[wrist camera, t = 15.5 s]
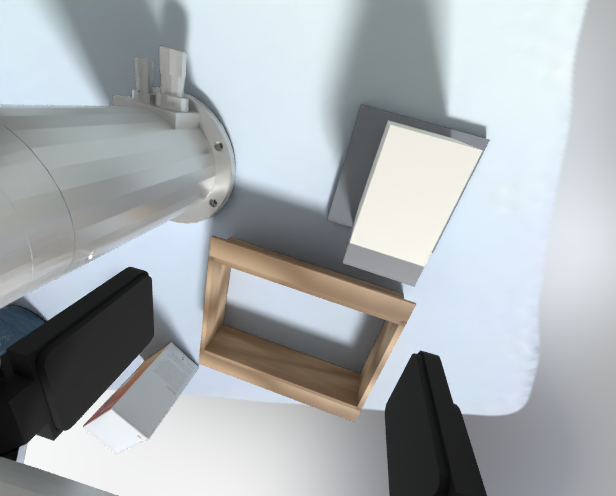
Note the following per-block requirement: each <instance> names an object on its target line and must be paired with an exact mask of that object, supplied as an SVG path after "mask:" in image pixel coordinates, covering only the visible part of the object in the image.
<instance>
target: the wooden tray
mask: <svg viewBox="0 0 616 496" xmlns="http://www.w3.org/2000/svg"><path fill="white" fill-rule="evenodd" d="M231 268H234V269H237V270H240V271H243V272H246V273H249V274H252V275H255V276H258V277H261V278H264V279H267V280H270V281H272V282H275V283H278V284H281V285H284V286H287V287H290V288H293V289H296V290H299V291H302V292H305V293H308V294H311V295H314V296H316V297H319V298H322V299H325V300H328V301H331V302H334V303H337V304H340V305H343V306H346V307H349V308H352V309H355V310H357V311H360V312H363V313H366V314H369V315H372V316H375V317H378V318H381V319H384V320H385V322H384V324H383V327H382V329H381V331H380V333H379V335H378V337H377V339H376V341H375V343H374V345H373V348H372V350H371V352H370V354H369V356H368V358H367V360H366V362H365V364H364V366H363V369H362V371H361V373H360V374H358V373H356V372H353V371H350V370H347V369H345V368H342V367H339V366H336V365H334V364H331V363H328V362H325V361H322V360H320V359H317V358H314V357H311V356H309V355H306V354H303V353H300V352H298V351H295V350H292V349H289V348H286V347H284V346H281V345H278V344H275V343H273V342H270V341H267V340H264V339H262V338H259V337H256V336H253V335H251V334H248V333H245V332H242V331H239V330H237V329H234V328H231V327H228V326H226V325H223V321H224V314H225V307H226V299H227V292H228V285H229V278H230V271H231ZM415 306H416V303H414V302H411V301H408V300H405V299H404V294H401V293H398V292H395V291H392V290H389V289H386V288H383V287H380V286H377V285H374V284H371V283H368V282H365V281H362V280H359V279H356V278H353V277H350V276H347V275H344V274H341V273H338V272H335V271H332V270H329V269H326V268H323V267H320V266H317V265H314V264H311V263H308V262H305V261H302V260H299V259H295V258H292V257H289V256H286V255H283V254H280V253H277V252H274V251H271V250H268V249H265V248H262V247H259V246H256V245H253V244H250V243H247V242H244V241H241V240H238V239H235V238H232V237H230V238H229V239H228V240H225V239H222V238H219V237H216V236H213V235H212V236H211V240H210V250H209V261H208V271H207V282H206V292H205V303H204V313H203V323H202V334H201V344H200V355H199V364H201V365H204V366H207V367H209V368H212V369H214V370H217V371H220V372H222V373H225V374H228V375H230V376H233V377H236V378H238V379H241V380H244V381H246V382H249V383H252V384H254V385H257V386H259V387H262V388H265V389H267V390H270V391H273V392H275V393H278V394H281V395H283V396H286V397H289V398H291V399H294V400H297V401H299V402H302V403H304V404H307V405H310V406H313V407H315V408H318V409H320V410H323V411H326V412H328V413H331V414H334V415H336V416H339V417H342V418H344V419H347V420H350V421H352V422H355V420H356V419H357V416H358V415H359V413H360V411H361V409H362V407H363V405H364V403H365V401H366V399H367V397H368V396H369V394H370V392H371V390H372V388H373V386H374V384H375V382H376V380H377V378H378V376H379V375H380V373H381V371H382V369H383V367H384V365H385V363H386V361H387V359H388V357H389V355H390V353H391V352H392V350H393V348H394V346H395V344H396V342H397V340H398V338H399V336H400V334H401V332H402V331H403V329H404V327H405V325H406V323H407V321H408V319H409V317H410V315H411V313H412V311H413V309H414V308H415Z"/></svg>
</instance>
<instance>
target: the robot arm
mask: <svg viewBox="0 0 616 496" xmlns="http://www.w3.org/2000/svg"><path fill="white" fill-rule="evenodd" d="M186 61H187V53H185V52H181V51H178V50H174V49H170V48H167V47H163V46H159V72H161V74H160V87H154V88H153V79H154V62H153V61H150V60H146V59H143V58H138V57H134V63H135V75H136V89H132V96H118V95H114V96H113V106H65V105H0V309H1V308H3V307H4V306H6V305H8V304H10V303H12V302H14V301H15V300H17V299H19V298H21V297H23V296H25V295H27V294H28V293H30V292H32V291H34V290H36V289H38V288H40V287H42V286H44V285H46V284H48V283H50V282H51V281H53V280H56V279H58V278H60V277H62V276H64V275H66V274H68V273H70V272H71V271H73V270H75V269H77V268H79V267H81V266H83V265H85V264H87V263H89V262H91V261H93V260H95V259H96V258H98V257H100V256H102V255H104V254H106V253H108V252H110V251H112V250H114V249H116V248H118V247H119V246H121V245H123V244H125V243H127V242H129V241H131V240H133V239H135V238H137V237H139V236H141V235H143V234H144V233H146V232H148V231H150V230H152V229H154V228H156V227H158V226H160V225H162V224H164V223H166V222H167V221H169V220H170V221H173V222H177V223H187V224H188V223H196V222H200V221H203V220H205V219H207V218H209V217H211V216H212V215H214V214H215V213H217V212H218V211H219V210H220V209H221V208H222V207H223V206H224V205H225V203H226V202H227V201H228V199H229V197H230V195H231V192H232V190H233V186H234V181H235V167H236V166H235V159H234V152H233V149H232V146H231V143H230V140H229V138H228V136H227V134H226V132H225V129H224V127H223V126H222V124H221V123H220V122H219V120H218V119H217V117H216V116H215V115H214V114H213V113H212V112H211V111H210V109H209V108H208V107H207V106H206V105H205V104H203V103H202V102H200V101H199V100H198V99H196V98H195V97H193V96H191V95H189V94H187V93H185V92H184V83H185V78H186ZM221 143H222V144H223V148H222V146H221ZM216 201H217V202H216ZM153 335H154V320H153V296H152V278H151V277H149V275H148V273H147V272H146V271H144V270H140V269H137V268H133V267H128V268H126V269H124V270H123V271H121V272H120V273H118V274H117V275H115V276H114V277H112V278H111V279H109V280H108V281H106V282H105V283H103V284H102V285H101V286H99V287H98V288H96V289H95V290H93V291H92V292H90V293H89V294H87V295H86V296H84V297H83V298H81V299H80V300H78V301H77V302H75V303H74V304H72V305H71V306H69V307H68V308H66V309H65V310H63V311H62V312H60V313H59V314H57V315H56V316H54V317H53V318H51V319H50V320H48V321H47V322H45V323H44V324H42V325H41V326H39V327H38V328H36V329H35V330H33V331H32V332H30V333H29V334H28V335H26V336H25V337H23V338H22V339H20V340H19V341H17V342H16V343H14V344H13V345H11V346H10V347H8V348H7V349H6V351H7V352H6V353H5V354H3V355H2V356H0V496H118V495H114V494H112V493H109V492H106V491H103V490H100V489H97V488H94V487H91V486H88V485H85V484H82V483H79V482H76V481H73V480H70V479H67V478H64V477H61V476H58V475H56V474H52V473H50V472H47V471H44V470H41V469H38V468H35V467H31V466H28V465H25V464H23V463H24V458H25V453H26V448H27V443H28V442H29V441H30V440H31V439H32V438H33V437H34V436H35V435H36V434H37V435H39V436H42V437H45V438H48V439H50V440H53V441H54V440H55V439H56V438H57V437H58V436H59V435H60V434H61V433H62V431H63V430H64V431H66V430H68V429H70V428H71V427H72V426H73V425H74V424H75V423H76V422H77V421H78V420H79V419H80V418H81V417H82V415H84V413H85V412H86V411H87V410H88V409H89V408H90V407H91V406H92V405H93V404H94V403H95V402H96V401H97V399H98V398H99V397H100V396H101V395H102V394H103V393H104V392H105V391H106V390H107V389H108V387H109V386H110V385H111V384H112V383H113V382H114V381H115V380H116V379H117V378H118V377H119V376H120V374H121V373H122V372H123V371H124V370H125V369H126V368H127V367H128V366H129V365H130V364H131V362H132V361H133V360H134V359H135V358H136V357H137V356H138V355H139V354H140V353H141V352H142V350H143V349H144V348H145V347H146V346H147V345H148V344H149V343H150V342H151V340H152V338H153ZM385 426H386V443H387V458H388V476H389V493H390V496H487V494H486V491H485V488H484V485H483V481H482V478H481V475H480V472H479V468H478V465H477V462H476V459H475V456H474V453H473V449H472V446H471V443H470V439H469V436H468V433H467V430H466V427H465V423H464V420H463V417H462V414H461V411H460V409H459V407H458V406H457V405H456V404H453V400H452V397H451V393H450V390H449V387H448V383H447V380H446V376H445V373H444V370H443V366H442V363H441V359H440V357H439V356H438V355H434V354H431V353H427V352H424V351H420V352H418V354H415V353H414V354H412V356H411V358H410V360H409V361H408V363H407V365H406V367H405V369H404V371H403V373H402V375H401V377H400V379H399V381H398V383H397V385H396V386H395V388H394V390H393V392H392V394H391V396H390V398H389V400H388V402H387V404H386V408H385Z"/></svg>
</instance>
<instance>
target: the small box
mask: <svg viewBox="0 0 616 496" xmlns="http://www.w3.org/2000/svg"><path fill="white" fill-rule="evenodd" d="M198 369H199V367H198V366H197V365H196V364H195V363H194V362H193V361H192V360H190V359H189V358H188V357H187V356H186V355H185V354H184V353H183V352H182V351H181V350H180V349H179V348H178V347H176V346H175V345H174V344H173V343H172V342H170V343H169V344H168V345H166V346H165V347H164V348H163V349H161V350H160V351H158V352H157V353H155V354H154V355H152V356H151V357H150V358H148V359H147V360H145V361H144V362H143V363H142V364H141V365H140V366H139V368H138V369H137V370H136V371H135V372H134V373H133V374H132V375H131V376H130V377H129V378H128V379H127V380H126V381H125V382H124V383H123V384H122V385H121V387H120V388H119V389H118V390H117V391H116V392H115V393H114V394H113V395H112V396H111V397H110V398H109V399H108V400H107V401H106V402H105V403H104V404H103V405H102V406H101V408H100V409H99V410H98V411H97V412H96V413H95V414H94V415H93V416H92V417H91V418H90V419H89V420H88V421H87V422H86V423H85V424H84V425H83V427H84V428H85V429H86V430H87V431H88V432H89V433H90V434H92V435H93V436H94V437H95V438H97V439H98V440H99V441H101V442H102V443H103V444H104V445H105V446H107V447H108V448H109V449H111V451H113V452H114V453H115V454H119V453H120V452H122V451H124V450H126V449H128V448H130V447H132V446H134V445H136V444H138V443H140V442H143V441H146V440H148V439H150V437H151V436H152V434H153V433H154V431H155V430H156V428H157V427H158V426H159V424H160V423H161V421H162V420H163V418H164V417H165V416H166V414H167V413H168V412H169V410H170V409H171V407H172V406H173V404H174V403H175V401H176V400H177V399H178V397H179V396H180V395H181V393H182V392H183V390H184V389H185V387H186V386H187V385H188V383H189V382H190V380H191V379H192V377H193V376H194V375H195V373H196V372H197V370H198Z"/></svg>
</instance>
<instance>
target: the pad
mask: <svg viewBox="0 0 616 496" xmlns="http://www.w3.org/2000/svg"><path fill="white" fill-rule="evenodd" d="M388 120H389V121H392V122H396V123H400V124H403V125H407V126H410V127H414V128H418V129H421V130H425V131H428V132H432V133H436V134H439V135H443V136H447V137H450V138H453V139H455V140H458V141H460V142H463V143H465V144H468V145H470V146H473V147H475V148H478V149H480V150H483V151H482V153H481V155H480V157H479V159H478V161H477V163H476V165H475V167H474V169H473V171H472V173H471V175H470V177H469V179H468V181H467V183H466V185H465V187H464V189H463V191H462V193H461V195H460V197H459V199H458V201H457V203H456V205H455V207H454V209H453V211H452V213H451V215H450V217H449V219H448V221H447V223H446V225H445V227H444V229H443V231H442V233H441V235H440V237H439V239H438V241H437V243H436V244H435V246H434V248H433V250H432V252H431V253H433V252H434V250H435V248H436V246H437V244H438V242H439V240H440V238H441V236H442V234H443V232H444V230H445V228H446V226H447V224H448V222H449V220H450V218H451V216H452V214H453V212H454V210H455V208H456V206H457V204H458V202H459V200H460V198H461V196H462V194H463V192H464V190H465V188H466V186H467V184H468V182H469V180H470V178H471V176H472V174H473V172H474V170H475V168H476V166H477V164H478V162H479V160H480V158H481V156H482V154H483V152H484V150H485V148H486V146H487V144H488V142H489V139H486V138H482V137H478V136H475V135H471V134H467V133H464V132H460V131H456V130H453V129H449V128H446V127H442V126H438V125H435V124H431V123H427V122H424V121H420V120H416V119H413V118H409V117H405V116H402V115H398V114H394V113H391V112H387V111H383V110H380V109H376V108H372V107H369V106H365V105H362V104H361V107H360V110H359V114H358V117H357V121H356V124H355V127H354V131H353V134H352V138H351V141H350V144H349V148H348V151H347V155H346V158H345V161H344V165H343V168H342V172H341V175H340V178H339V182H338V185H337V189H336V192H335V195H334V199H333V202H332V206H331V209H330V212H329V216H328V219H327V220H329V221H332V222H336V223H339V224H342V225H345V226H348V227H351V228H352V224H353V221H354V218H355V215H356V212H357V209H358V206H359V203H360V201H361V198H362V195H363V192H364V189H365V186H366V183H367V180H368V177H369V174H370V171H371V168H372V165H373V162H374V159H375V156H376V154H377V151H378V148H379V145H380V142H381V139H382V136H383V133H384V130H385V127H386V124H387V121H388Z"/></svg>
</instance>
